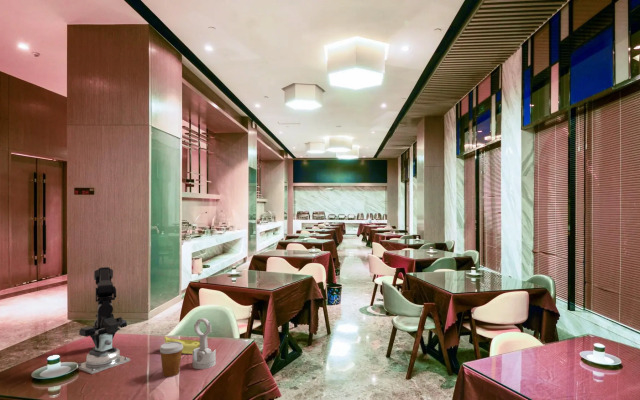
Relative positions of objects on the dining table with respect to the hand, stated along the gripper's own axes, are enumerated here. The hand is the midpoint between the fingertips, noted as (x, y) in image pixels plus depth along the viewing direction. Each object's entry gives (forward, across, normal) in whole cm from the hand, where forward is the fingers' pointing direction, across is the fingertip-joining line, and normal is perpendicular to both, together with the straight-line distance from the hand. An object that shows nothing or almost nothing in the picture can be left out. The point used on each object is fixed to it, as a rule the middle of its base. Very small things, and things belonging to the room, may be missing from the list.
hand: (103, 346), depth 167 cm
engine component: (+8, +23, -40) cm, 47 cm away
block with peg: (+1, 0, 0) cm, 1 cm away
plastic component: (+8, +32, -17) cm, 37 cm away
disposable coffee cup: (+8, +9, -36) cm, 38 cm away
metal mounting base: (+8, 0, 0) cm, 8 cm away
